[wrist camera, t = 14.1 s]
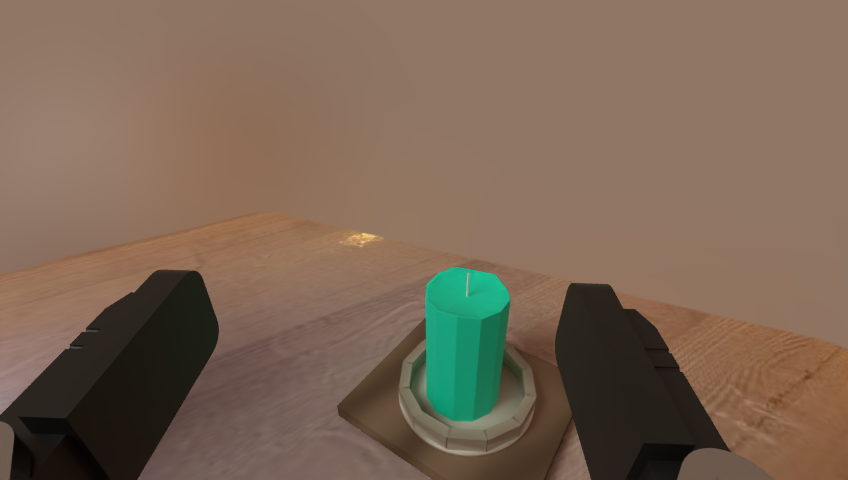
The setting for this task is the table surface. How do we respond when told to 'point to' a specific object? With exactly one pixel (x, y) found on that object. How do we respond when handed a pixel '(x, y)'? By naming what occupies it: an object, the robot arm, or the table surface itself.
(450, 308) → the candle
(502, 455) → the holder
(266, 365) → the table surface
